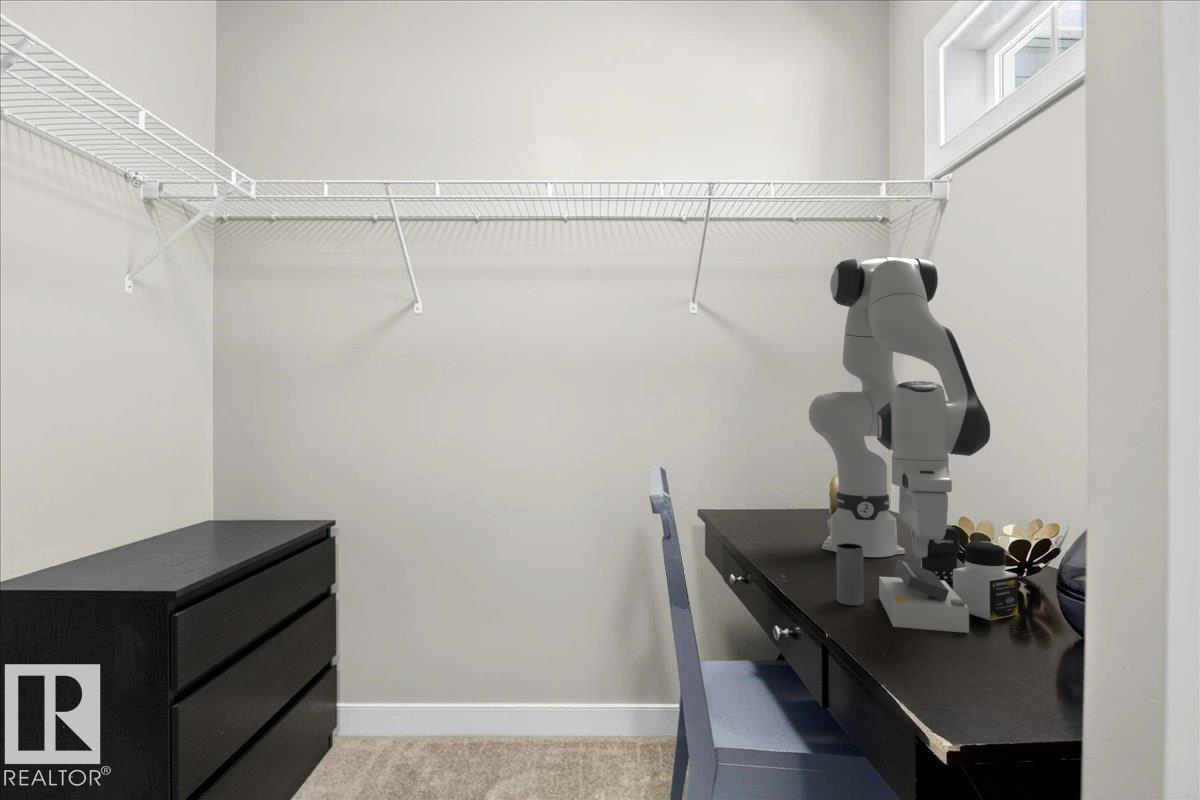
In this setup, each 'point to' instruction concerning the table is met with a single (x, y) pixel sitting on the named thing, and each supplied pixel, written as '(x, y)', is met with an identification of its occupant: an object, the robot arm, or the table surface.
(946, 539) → the battery charger
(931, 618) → the panel
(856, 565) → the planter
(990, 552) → the medicine bottle
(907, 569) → the dark gray slim case
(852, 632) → the table surface
